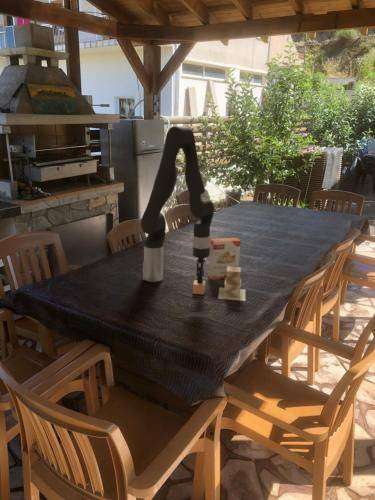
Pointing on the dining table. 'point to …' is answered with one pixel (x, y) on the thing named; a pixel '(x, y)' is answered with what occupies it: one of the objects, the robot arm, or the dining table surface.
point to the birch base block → (232, 290)
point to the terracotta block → (198, 287)
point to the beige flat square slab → (221, 296)
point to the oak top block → (233, 275)
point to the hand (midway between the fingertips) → (200, 279)
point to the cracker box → (223, 256)
